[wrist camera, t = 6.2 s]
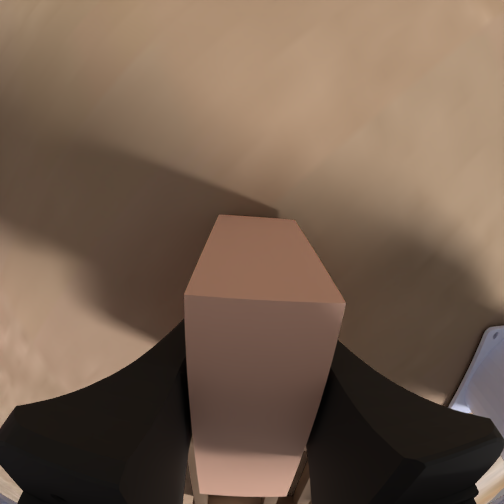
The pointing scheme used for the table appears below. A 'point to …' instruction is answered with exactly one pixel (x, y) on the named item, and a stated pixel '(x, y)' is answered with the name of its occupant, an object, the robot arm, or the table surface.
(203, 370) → the pink rectangular prism
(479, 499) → the table surface
